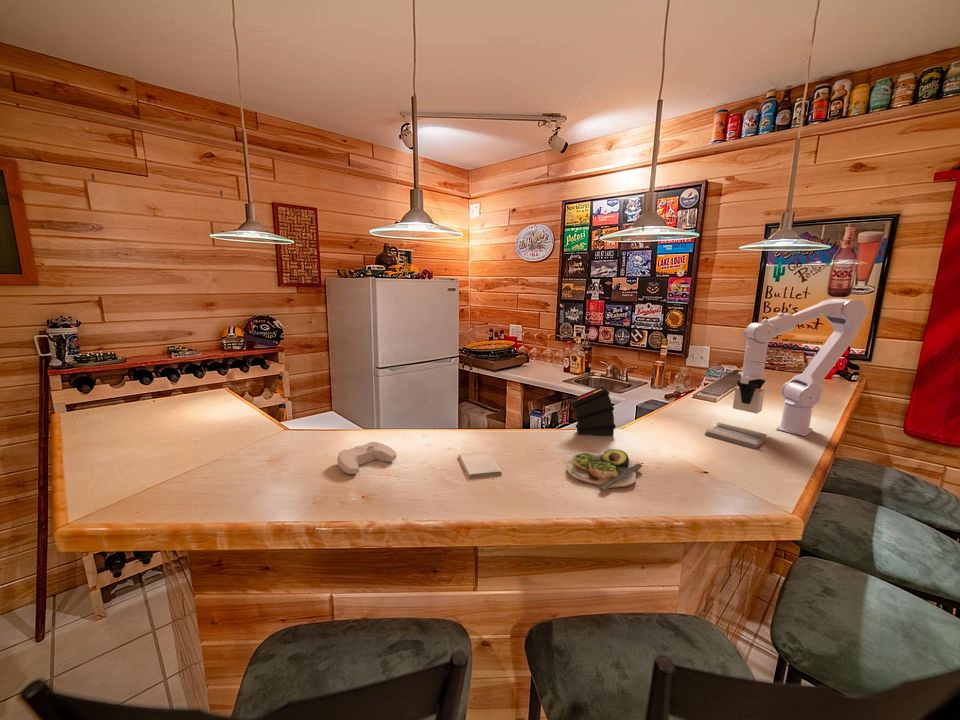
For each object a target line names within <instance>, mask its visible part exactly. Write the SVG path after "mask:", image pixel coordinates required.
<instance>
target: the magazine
mask: <svg viewBox="0 0 960 720" xmlns="http://www.w3.org/2000/svg"><path fill="white" fill-rule="evenodd" d="M570 401H571V402H570V404H571V406H572V408H573V409H574V410H575V414H574V416H575V418H576V424H575V428H576V432H577V434H578V436H602V437H603V436H604V437H605V436H606V437H607V436H608V437H613V436H614V434H615V433H614V431H615V429H616V428H617V426H616V425H617V424H615V417H614V410H615V407H614V406H613V405H612V400H611V397H610V391H609V390H607V388H606V387H605V386H604V385H602V386H599V387H597V388H594V389H593V390H590V391H587V392H586V393H583V394H581V395H578V396H576V397H573V398H571V399H570Z"/></svg>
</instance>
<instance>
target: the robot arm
mask: <svg viewBox="0 0 960 720" xmlns="http://www.w3.org/2000/svg"><path fill="white" fill-rule="evenodd" d="M868 314H869V312H868V309H867V305H866V303H865V302H864V301H862V300H861V299H856V298H854V299H849V298H848V299H847V298H838V297H832V298H829V299H826V300H821V301H820V302H819V303H816V304H814V305H811V306H808V307H807V308H804V309H802V310H800V311H798V312H795V313H792V314H791V313H788V312H779V313H777V314H776V316H773V317H770V318H767V319H766V318H764V319H762V320H761V321H760V322H752V323H750V324H748V326H746V328H745V330H743V335H744V337H745V344H746V345H745V351H744V358H743V364H742V371H738V372H737V375H738V376H739V375H740V376H741V377H740V379H739V380H737V381H736V383H737V387H738V386H739V388H740V392H741V400H742V403H745V404H750V402H751V400H752V396H753V393H754V391H755V389H756V388H759V389H762V387H763V386H764V384H765V383H766V379H764V376H765V375H764V374H765V373H764V371H765V368H766V367H765V366H766V359H767V353H768V345H769V342H771V341H772V340H773V338H775V337H778V336H779V335H780V336H781V335H783V334H785V333H788V332H791V331H793V330H795V329H796V327H797V325H799V324H802V323H806V322H809V321H812V320H816V319H818V318H819V319H820V318H823V317H825V318H826V319H827V320H828V322H829V324H830V325H831V326H832V329H833V331H832V333H831V334H830V336H829V337H828V339H827V340H826V341H825V342H824V344H823V345H822V346H821V348H820V349H819V350H818V351H817V353H816V354H815V355H814V356H813V359H812V360H811V361H810V362H809V364H807V366H806V367H805V368H804V370H803V371H802V373H799V374H796V375H794V376H793V377H792V378H791V379H790V380H789V381H787V382H785V383H784V384H783V385H782V386H781V395H782V397H783V401H784V402H783V403H784V405H783V410H782V415H781V421H780V424H779V426H777V427H776V428H775V430H778V431H781V432H786V433H789V434H794V435H797V436H803V437H807V436H808V435H809V434H810V433H812V431H813V430H814V428H812V427H810V425H811V420H812V415H813V409H814V406H816V405H817V404H819V401H820V400H821V395H822V393H823V391H824V390H825V388H824V385H823V383H822V382H823V380H824V379H825V378H826V377H827V375H828V374H829V373H830V371H831V370H832V369H833V368H834V366H835V365H836V364H837V362H838V361H839V360H840V358H841V357H842V356H843V354H844V353H845V352H846V351H847V349H848V348H849V347H850V345H851V344H852V343H853V341H854V340H855V339H856V337H857V336H858V335H859V333H860V330H861V326H862V322H863V321H864V319H865V318H866V316H868Z"/></svg>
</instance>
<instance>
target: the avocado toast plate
mask: <svg viewBox="0 0 960 720" xmlns="http://www.w3.org/2000/svg"><path fill="white" fill-rule="evenodd" d="M642 467H643V465H642V464H641V463H634V462H633V461H632V460H631V461H630V458H629V455H628V454H627V453H626V452H625V451H624V450H622V449H617V448H610V449H608V450H605V451H604V453H602V454H601V453H600V454H599V453H594V452H588V451H581V452H575V453H573V454H572V455H571V456H569V460H568V463H567V465H566V472H567V474H568V475H569V476H570V477H571V478H573V479H574V480H576V481H577V482H579V483H582V484H585V485H587V486H592V487H593V486H595V487H598V488H600V489H602V490H607V489H613V488H614V489H615V488H616V489H617V488H622V487H623V488H624V487H630V486H632V485H633V484H634V483H635V481H636V474H637V473H636V472H637V471H640V469H641V468H642ZM577 468H578V469H580V470H582V471H584V472H587V473H589V474H590V475H591V476H590V478H585V477H582V476H581V475H579V474H578V473H577Z"/></svg>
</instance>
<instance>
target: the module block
mask: <svg viewBox="0 0 960 720" xmlns="http://www.w3.org/2000/svg"><path fill="white" fill-rule="evenodd" d="M764 398H765V389H762V388H761V389H759V388H756V389H755V391H754V393H753V396H752V400H751V402H750V404H745V403H742V400H741V392H740V388H739V386H738V385H737V386H736V387H735V389H734V398H733V403H732V404H733V405H732V409H735V410H737V411H738V410H739V411H744V412H749V413H752V414H759V413H760V412H762V410H763V404H764Z"/></svg>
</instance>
